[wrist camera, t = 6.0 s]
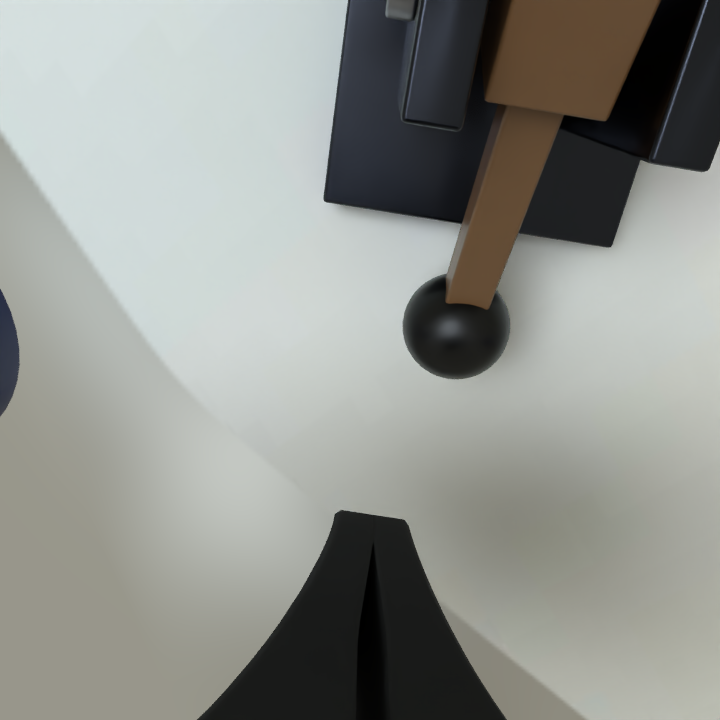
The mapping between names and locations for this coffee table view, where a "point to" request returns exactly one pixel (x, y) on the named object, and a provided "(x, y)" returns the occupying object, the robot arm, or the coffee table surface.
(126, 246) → the coffee table surface
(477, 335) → the lever
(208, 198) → the coffee table surface
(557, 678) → the coffee table surface
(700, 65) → the bracket
